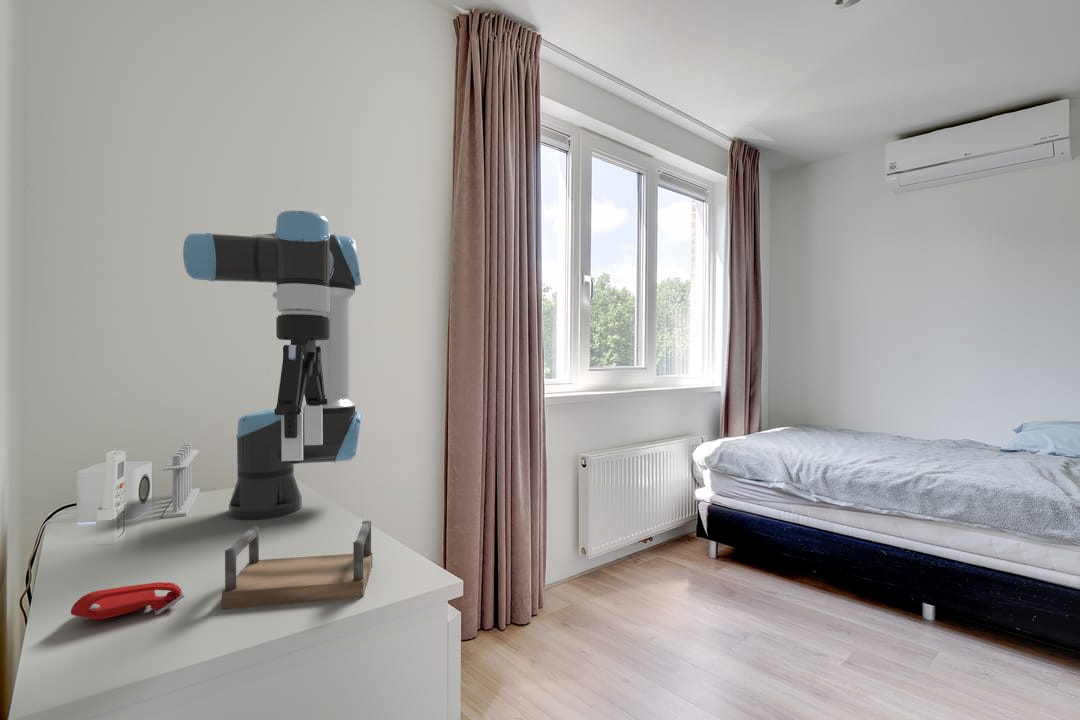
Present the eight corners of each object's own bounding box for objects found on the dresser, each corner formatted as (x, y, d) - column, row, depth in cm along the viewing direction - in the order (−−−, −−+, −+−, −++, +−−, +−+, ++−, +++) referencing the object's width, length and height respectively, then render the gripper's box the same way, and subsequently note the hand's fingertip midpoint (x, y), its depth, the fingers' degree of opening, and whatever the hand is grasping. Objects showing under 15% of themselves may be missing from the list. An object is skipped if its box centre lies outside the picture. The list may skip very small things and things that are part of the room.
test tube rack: (186, 516, 121) (186, 457, 121) (162, 518, 119) (162, 458, 119) (199, 491, 144) (199, 441, 144) (179, 493, 142) (179, 442, 142)
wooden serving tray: (250, 575, 88) (250, 526, 88) (372, 567, 91) (372, 519, 91) (222, 609, 76) (221, 553, 76) (363, 598, 80) (363, 544, 80)
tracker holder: (128, 594, 81) (53, 625, 71) (129, 564, 81) (54, 591, 71) (193, 606, 78) (123, 640, 68) (194, 575, 78) (124, 605, 68)
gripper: (297, 319, 95) (298, 440, 95) (249, 307, 71) (250, 469, 71) (342, 319, 96) (342, 438, 97) (311, 308, 72) (311, 467, 72)
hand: (303, 452), depth 84 cm, fingers open, 13 cm apart
